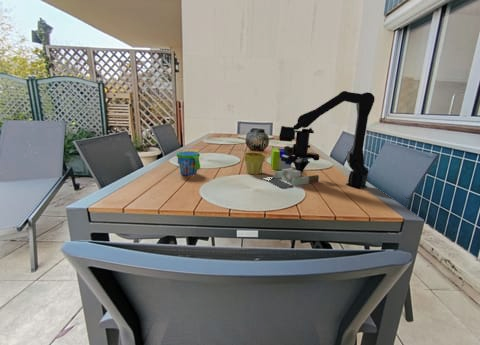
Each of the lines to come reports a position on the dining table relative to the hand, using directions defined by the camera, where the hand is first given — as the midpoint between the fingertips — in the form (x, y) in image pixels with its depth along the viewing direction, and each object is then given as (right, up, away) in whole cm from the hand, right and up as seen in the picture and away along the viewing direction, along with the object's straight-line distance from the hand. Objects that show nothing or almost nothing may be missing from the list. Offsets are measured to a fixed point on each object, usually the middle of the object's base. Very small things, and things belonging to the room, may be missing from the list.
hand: (298, 175), depth 116 cm
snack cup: (-53, +1, +3) cm, 53 cm away
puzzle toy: (-5, +4, +22) cm, 23 cm away
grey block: (-4, -2, -2) cm, 5 cm away
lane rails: (-1, -2, 0) cm, 2 cm away
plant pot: (-21, +1, +9) cm, 23 cm away
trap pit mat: (-11, -3, -6) cm, 13 cm away
